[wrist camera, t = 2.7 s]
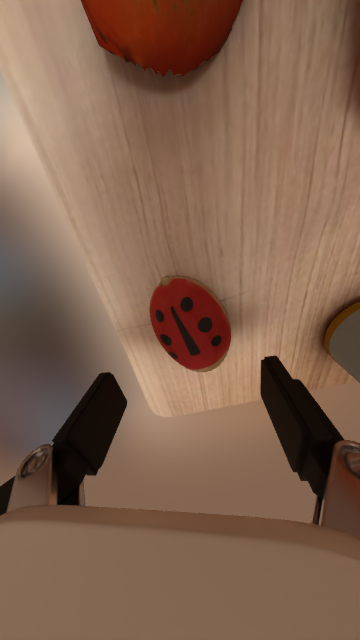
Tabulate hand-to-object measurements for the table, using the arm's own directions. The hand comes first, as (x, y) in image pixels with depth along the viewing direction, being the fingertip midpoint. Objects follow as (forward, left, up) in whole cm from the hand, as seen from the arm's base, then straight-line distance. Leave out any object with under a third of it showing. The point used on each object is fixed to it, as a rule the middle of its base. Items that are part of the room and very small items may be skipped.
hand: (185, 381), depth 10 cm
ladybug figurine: (-1, 0, -7) cm, 7 cm away
